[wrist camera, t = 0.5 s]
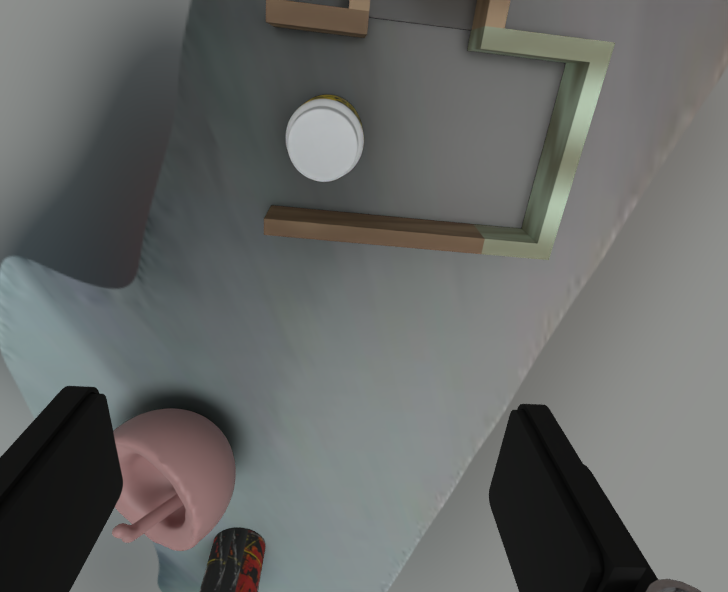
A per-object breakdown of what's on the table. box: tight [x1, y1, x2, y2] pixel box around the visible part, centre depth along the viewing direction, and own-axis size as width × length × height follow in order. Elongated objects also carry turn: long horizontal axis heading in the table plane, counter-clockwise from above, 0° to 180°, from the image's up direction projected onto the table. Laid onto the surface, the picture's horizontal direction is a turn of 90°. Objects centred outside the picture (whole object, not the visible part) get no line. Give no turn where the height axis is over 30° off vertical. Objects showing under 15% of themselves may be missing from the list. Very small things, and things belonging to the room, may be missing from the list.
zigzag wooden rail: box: [264, 0, 615, 260], centre depth 30 cm, size 22×21×4 cm
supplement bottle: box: [286, 94, 364, 182], centre depth 29 cm, size 5×5×8 cm
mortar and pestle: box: [112, 408, 236, 551], centre depth 40 cm, size 12×12×11 cm
